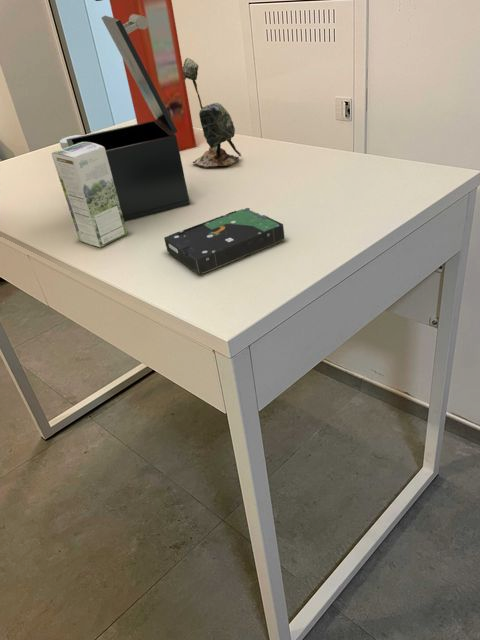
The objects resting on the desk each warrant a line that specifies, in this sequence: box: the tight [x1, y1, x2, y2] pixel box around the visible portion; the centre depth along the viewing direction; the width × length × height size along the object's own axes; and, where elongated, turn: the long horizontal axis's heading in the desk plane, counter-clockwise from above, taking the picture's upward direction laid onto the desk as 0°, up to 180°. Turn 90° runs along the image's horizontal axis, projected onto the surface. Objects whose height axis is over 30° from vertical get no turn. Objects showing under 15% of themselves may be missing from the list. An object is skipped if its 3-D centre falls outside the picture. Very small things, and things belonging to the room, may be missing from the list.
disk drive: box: [163, 207, 285, 275], centre depth 81 cm, size 10×3×15 cm
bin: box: [66, 120, 191, 222], centre depth 97 cm, size 17×14×12 cm
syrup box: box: [51, 142, 128, 248], centre depth 85 cm, size 6×6×14 cm
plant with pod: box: [182, 57, 242, 168], centre depth 108 cm, size 8×11×20 cm
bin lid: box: [101, 14, 178, 134], centre depth 90 cm, size 17×14×5 cm
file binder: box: [108, 0, 197, 152], centre depth 121 cm, size 8×17×32 cm, turn 29°
